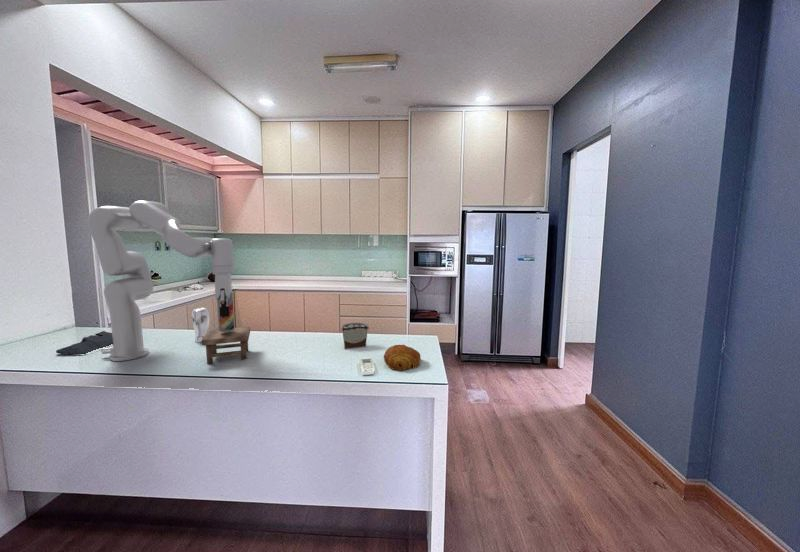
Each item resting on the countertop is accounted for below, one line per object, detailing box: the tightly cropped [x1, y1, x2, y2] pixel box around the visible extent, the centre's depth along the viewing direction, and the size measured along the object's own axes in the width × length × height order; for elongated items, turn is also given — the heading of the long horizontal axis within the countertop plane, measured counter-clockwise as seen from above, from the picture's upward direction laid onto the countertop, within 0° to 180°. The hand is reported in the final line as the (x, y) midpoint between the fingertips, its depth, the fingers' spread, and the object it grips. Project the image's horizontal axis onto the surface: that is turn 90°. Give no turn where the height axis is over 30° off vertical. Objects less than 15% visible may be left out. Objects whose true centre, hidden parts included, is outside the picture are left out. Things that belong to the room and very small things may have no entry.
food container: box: [340, 322, 370, 350], centre depth 151 cm, size 12×6×10 cm, turn 108°
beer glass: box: [191, 307, 210, 344], centre depth 156 cm, size 7×7×15 cm
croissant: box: [383, 344, 422, 371], centre depth 131 cm, size 14×16×8 cm
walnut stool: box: [201, 326, 251, 365], centre depth 136 cm, size 16×14×10 cm
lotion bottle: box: [216, 291, 235, 332], centre depth 134 cm, size 6×6×20 cm
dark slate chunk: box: [56, 330, 113, 355], centre depth 148 cm, size 15×22×5 cm
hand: (225, 314), depth 135 cm, fingers closed on lotion bottle, 5 cm apart
